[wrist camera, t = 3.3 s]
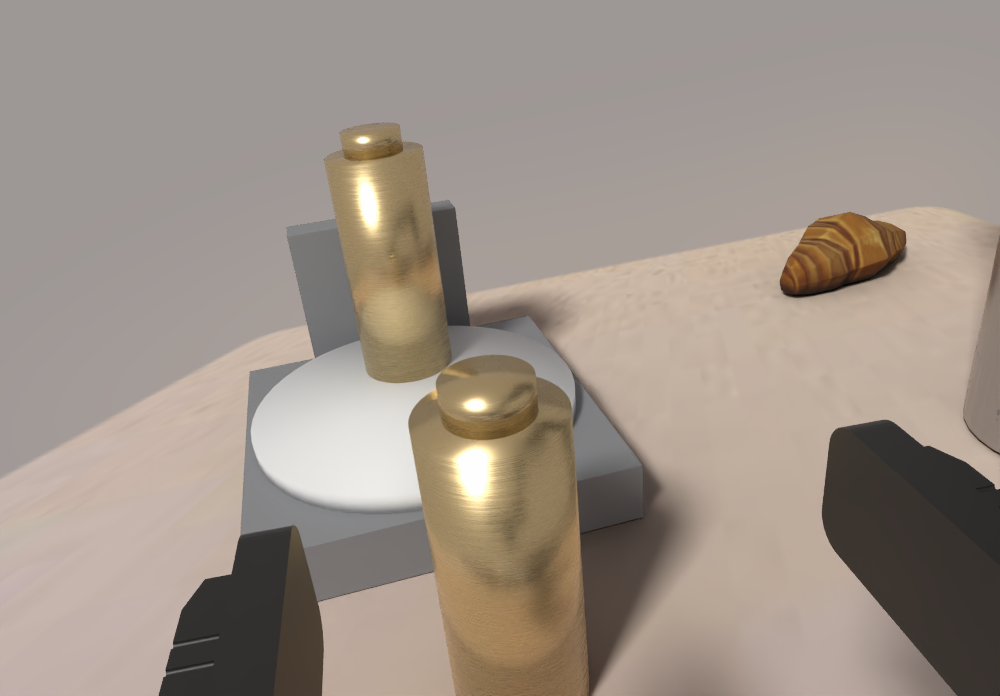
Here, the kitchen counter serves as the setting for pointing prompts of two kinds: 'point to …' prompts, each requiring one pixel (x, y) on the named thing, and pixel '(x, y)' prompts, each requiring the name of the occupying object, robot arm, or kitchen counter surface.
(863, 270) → the croissant
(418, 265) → the weight
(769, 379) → the kitchen counter surface
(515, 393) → the weight
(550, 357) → the scale
